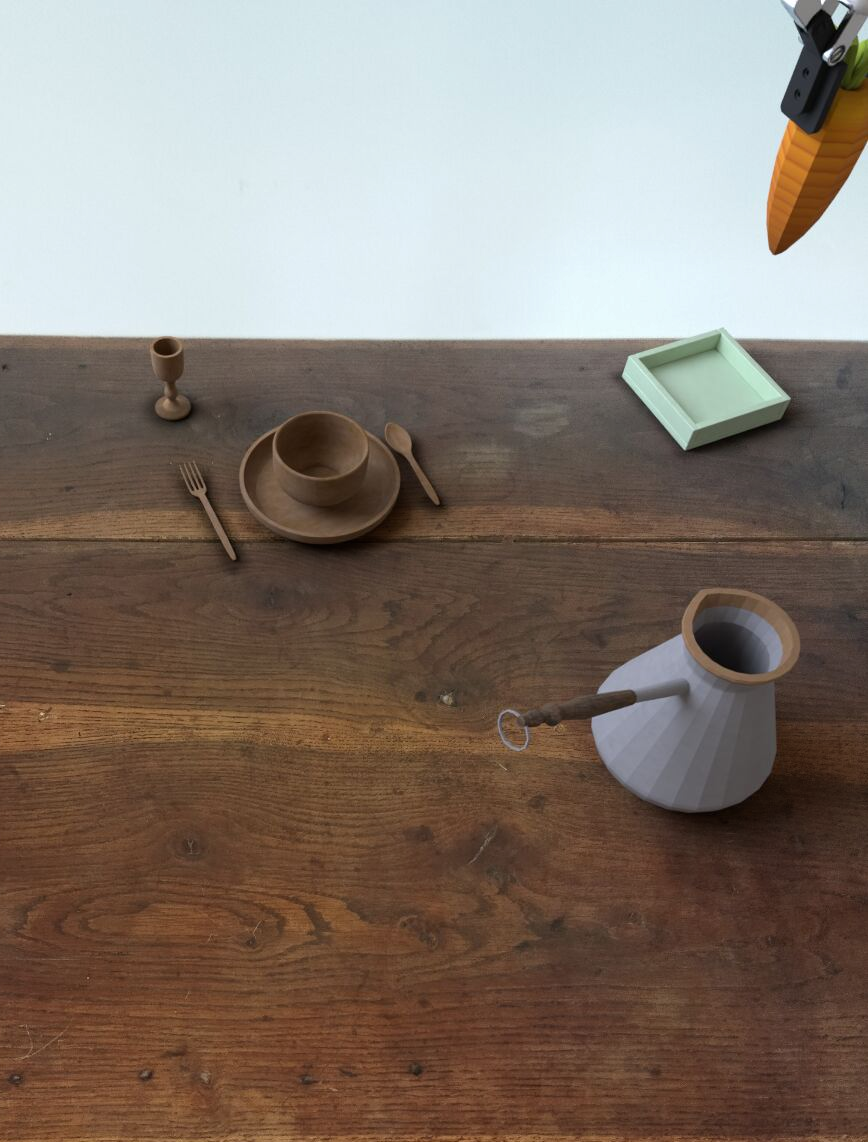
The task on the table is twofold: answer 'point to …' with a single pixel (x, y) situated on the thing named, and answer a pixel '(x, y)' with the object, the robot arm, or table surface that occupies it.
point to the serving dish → (705, 388)
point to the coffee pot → (692, 705)
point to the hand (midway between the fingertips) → (837, 108)
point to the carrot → (819, 157)
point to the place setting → (303, 468)
